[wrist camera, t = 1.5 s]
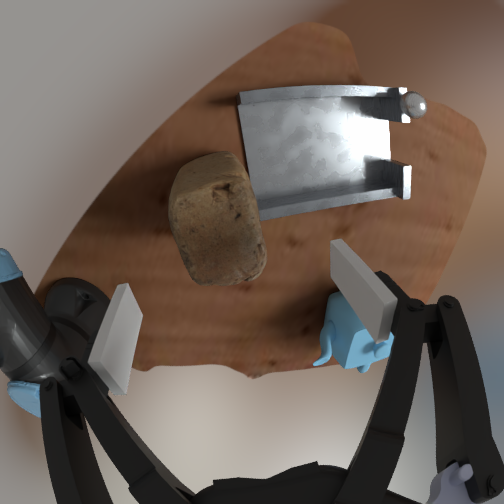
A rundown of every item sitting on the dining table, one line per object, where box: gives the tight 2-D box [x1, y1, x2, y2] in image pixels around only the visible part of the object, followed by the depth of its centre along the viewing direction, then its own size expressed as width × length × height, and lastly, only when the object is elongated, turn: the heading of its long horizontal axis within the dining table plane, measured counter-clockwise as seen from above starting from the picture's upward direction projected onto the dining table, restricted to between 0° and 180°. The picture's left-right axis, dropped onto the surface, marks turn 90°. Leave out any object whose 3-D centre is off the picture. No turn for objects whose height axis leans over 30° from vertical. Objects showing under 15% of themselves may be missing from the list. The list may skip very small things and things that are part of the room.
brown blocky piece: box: [168, 151, 267, 286], centre depth 29 cm, size 11×8×20 cm
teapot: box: [313, 291, 394, 373], centre depth 47 cm, size 18×16×14 cm
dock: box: [236, 85, 427, 221], centre depth 33 cm, size 25×17×10 cm
